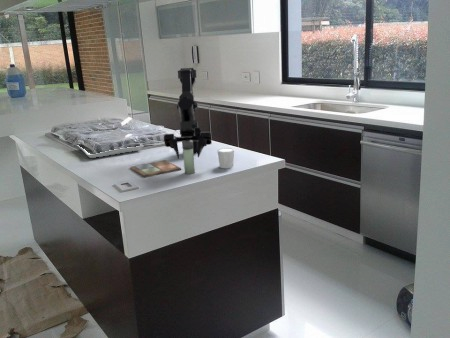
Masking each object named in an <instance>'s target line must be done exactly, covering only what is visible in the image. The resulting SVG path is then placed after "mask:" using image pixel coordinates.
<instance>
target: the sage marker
mask: <svg viewBox="0 0 450 338" xmlns="http://www.w3.org/2000/svg"><path fill="white" fill-rule="evenodd" d="M181 145H182V147H181V148H182V153H183V164H184V165H183V167H184V174H185V175H193V174H195V173H196V172H195V171H196V170H195V169H196V168H195V156H194V154H195V153H194V154H193V140H183V141H182V142H181Z"/></svg>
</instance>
